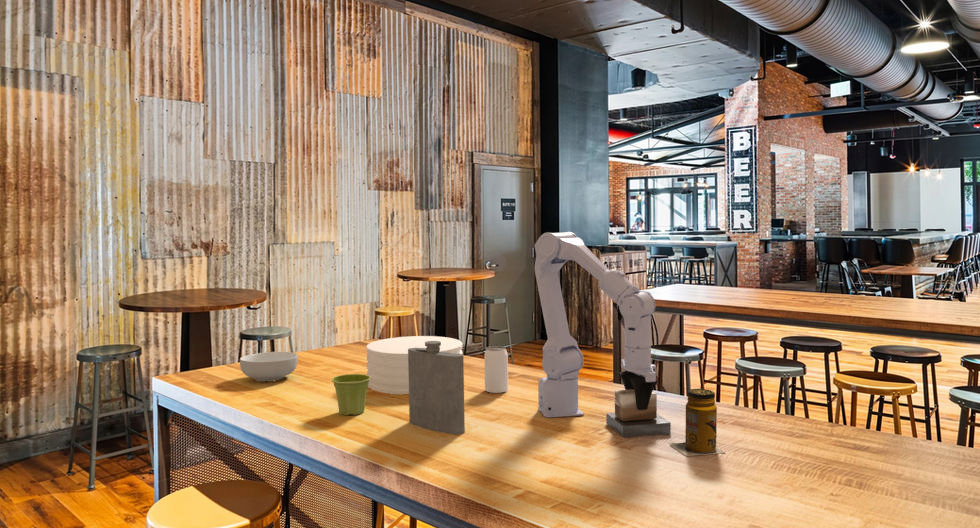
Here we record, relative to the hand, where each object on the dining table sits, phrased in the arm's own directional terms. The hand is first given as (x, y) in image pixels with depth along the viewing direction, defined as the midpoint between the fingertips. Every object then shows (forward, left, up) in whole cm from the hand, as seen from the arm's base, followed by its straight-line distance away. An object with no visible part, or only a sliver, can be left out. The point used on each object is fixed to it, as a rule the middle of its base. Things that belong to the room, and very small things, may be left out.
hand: (637, 406), depth 147 cm
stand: (0, 0, -5) cm, 5 cm away
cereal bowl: (-89, +70, -5) cm, 114 cm away
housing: (0, 0, -2) cm, 2 cm away
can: (-24, +40, -5) cm, 47 cm away
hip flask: (-44, +11, -5) cm, 46 cm away
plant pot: (-63, +28, -5) cm, 70 cm away
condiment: (+6, -15, -5) cm, 17 cm away
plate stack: (-46, +56, -6) cm, 72 cm away
